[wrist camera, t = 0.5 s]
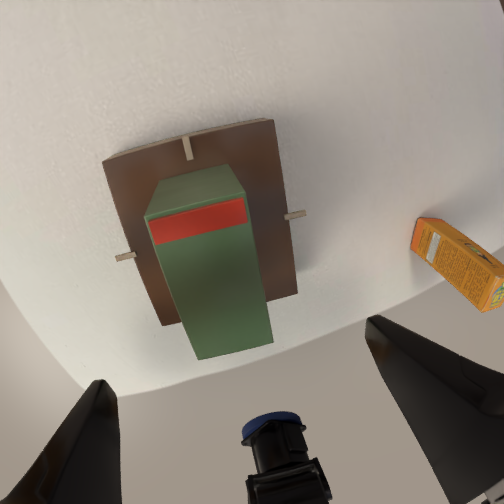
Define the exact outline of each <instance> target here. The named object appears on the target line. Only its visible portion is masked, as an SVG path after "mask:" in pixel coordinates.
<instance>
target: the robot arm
mask: <svg viewBox="0 0 504 504" xmlns="http://www.w3.org/2000/svg"><path fill="white" fill-rule="evenodd" d="M365 339H366V342H367V344H368V347H369V349H370V351H371V353H372V356H373V358H374V360H375V363H376V365H377V367H378V369H379V372H380V374H381V376H382V378H383V379H384V382H385V383H386V385H387V387H388V389H389V390H390V392H391V394H392V396H393V397H394V399H395V401H396V402H397V404H398V406H399V408H400V410H401V411H402V413H403V415H404V416H405V418H406V420H407V422H408V424H409V426H410V428H411V429H412V431H413V433H414V435H415V437H416V439H417V440H418V442H419V444H420V446H421V448H422V450H423V451H424V454H425V455H426V457H427V459H428V461H429V463H430V465H431V467H432V469H433V471H434V473H435V475H436V477H437V479H438V481H439V483H440V485H441V487H442V489H443V491H444V493H445V495H446V497H447V499H448V500H449V503H450V504H467V503H468V502H470V501H471V500H473V499H475V498H476V497H477V496H479V495H481V494H482V493H485V495H486V497H487V499H486V500H484V501H483V502H482V503H481V504H504V374H503V373H500V372H497V371H495V370H492V369H489V368H487V367H485V366H482V365H479V364H477V363H475V362H473V361H471V360H469V359H467V358H465V357H463V356H459V355H458V354H456V353H455V352H453V351H451V350H449V349H447V348H445V347H443V346H441V345H439V344H437V343H435V342H433V341H431V340H429V339H427V338H425V337H423V336H421V335H418V334H417V333H415V332H413V331H411V330H409V329H407V328H405V327H403V326H401V325H399V324H397V323H395V322H393V321H391V320H389V319H387V318H385V317H383V316H381V315H374V316H371V317H368V318H367V320H366V329H365ZM304 430H306V426H305V425H301V424H295V423H289V422H283V421H278V420H272V419H271V420H267V421H266V422H265V423H264V424H262V425H261V426H260V427H259V428H257V429H256V430H255V431H254V432H253V433H251V434H250V435H249V436H248V437H246V438H245V439H244V440H243V441H241V444H242V445H243V446H250V447H252V452H253V456H254V460H255V464H256V469H257V473H258V474H255V475H248V479H247V480H246V481H245V482H246V486H247V491H248V504H329V502H328V501H330V500H332V494H331V490H330V487H329V485H328V482H327V479H326V477H325V475H324V472H323V470H322V468H321V465H320V463H319V461H318V458H317V457H316V458H313V459H312V460H309V458H308V454H307V451H308V448H307V445H306V442H305V439H304V437H303V434H302V432H303V431H304ZM0 504H122V496H121V472H120V429H119V418H118V405H117V397H116V394H115V392H114V391H113V390H112V388H111V387H110V386H109V384H108V383H107V382H106V381H105V380H103V379H101V380H94V381H93V382H92V383H91V384H90V386H89V387H88V388H87V390H86V391H85V393H84V394H83V395H82V396H81V398H80V399H79V401H78V402H77V403H76V405H75V406H74V407H73V409H72V410H71V411H70V413H69V414H68V415H67V417H66V418H65V420H64V421H63V422H62V424H61V425H60V427H59V428H58V429H57V431H56V432H55V434H54V435H53V436H52V438H51V440H50V441H49V442H48V444H47V445H46V446H45V448H44V449H43V451H42V452H41V453H40V455H39V456H38V458H37V459H36V461H35V462H34V463H33V465H32V466H31V467H30V469H29V470H28V471H27V473H26V474H25V475H24V476H23V478H22V479H21V480H20V481H19V482H18V484H17V485H16V486H15V487H14V488H13V490H12V491H11V492H10V493H9V495H8V496H7V497H5V498H4V499H3V500H1V501H0Z"/></svg>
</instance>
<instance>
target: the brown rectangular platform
mask: <svg viewBox="0 0 504 504" xmlns="http://www.w3.org/2000/svg"><path fill="white" fill-rule="evenodd" d="M102 164H103V168H104V171H105V175H106V178H107V181H108V185H109V188H110V191H111V194H112V197H113V201H114V204H115V207H116V210H117V213H118V216H119V219H120V222H121V224H122V227H123V230H124V233H125V236H126V239H127V241H128V244H129V247H130V250H131V252H128V253H125V254H121V255H117V256H115V258H116V261H117V262H118V261H122V260H126V259H130V258H133V257H134V260H135V263H136V265H137V268H138V270H139V273H140V275H141V278H142V280H143V283H144V285H145V288H146V290H147V293H148V295H149V297H150V300H151V302H152V304H153V307H154V309H155V311H156V314H157V316H158V318H159V320H160V322H161V325H162V326H166V325H171V324H175V323H180V322H182V321H181V319H180V316H179V314H178V311H177V309H176V306H175V303H174V301H173V298H172V296H171V293H170V290H169V288H168V285H167V282H166V280H165V277H164V274H163V271H162V269H161V266H160V263H159V260H158V257H157V255H156V252H155V249H154V246H153V243H152V240H151V237H150V234H149V231H148V228H147V225H146V222H145V219H144V215H145V213H146V210H147V208H148V206H149V203H150V201H151V199H152V196H153V194H154V192H155V189H156V187H157V185H158V183H159V181H160V180H163V179H167V178H170V177H174V176H178V175H182V174H186V173H190V172H194V171H198V170H202V169H206V168H211V167H215V166H219V165H224V164H228V165H229V166H230V168H231V169H232V171H233V173H234V174H235V176H236V177H237V179H238V181H239V182H240V184H241V186H242V187H243V189H244V190H245V192H246V198H247V203H248V208H249V213H250V219H251V224H252V229H253V234H254V240H255V245H256V250H257V255H258V261H259V266H260V271H261V277H262V282H263V287H264V293H265V298H266V302H268V301H271V300H275V299H279V298H283V297H287V296H290V295H294V294H297V293H298V290H297V282H296V273H295V265H294V256H293V248H292V240H291V233H290V225H289V219H294V218H298V217H303V216H306V210H301V211H297V212H292V213H288V210H287V203H286V196H285V189H284V182H283V175H282V169H281V162H280V156H279V149H278V143H277V137H276V131H275V125H274V120H272V119H266V118H261V119H255V120H249V121H244V122H238V123H233V124H228V125H223V126H219V127H214V128H210V129H205V130H201V131H196V132H192V133H188V134H184V135H180V136H176V137H172V138H169V139H165V140H161V141H158V142H154V143H150V144H147V145H144V146H140V147H137V148H134V149H130V150H127V151H124V152H121V153H118V154H115V155H112V156H111V157H109V158H107V159H106V160H104V161H103V162H102Z"/></svg>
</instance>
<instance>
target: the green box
mask: <svg viewBox="0 0 504 504" xmlns="http://www.w3.org/2000/svg"><path fill="white" fill-rule="evenodd" d="M144 219H145V222H146V225H147V228H148V231H149V234H150V237H151V240H152V243H153V246H154V249H155V252H156V255H157V257H158V260H159V263H160V266H161V269H162V271H163V274H164V277H165V280H166V282H167V285H168V288H169V290H170V293H171V296H172V298H173V301H174V303H175V306H176V309H177V311H178V314H179V316H180V319H181V321H182V323H183V326H184V328H185V331H186V333H187V336H188V338H189V340H190V343H191V345H192V347H193V350H194V352H195V354H196V357H197V359H198V360H203V359H208V358H212V357H217V356H221V355H226V354H230V353H234V352H238V351H243V350H247V349H251V348H255V347H259V346H262V345H266V344H270V343H273V342H274V341H273V335H272V330H271V325H270V319H269V314H268V309H267V303H266V298H265V293H264V287H263V282H262V277H261V271H260V266H259V261H258V255H257V250H256V245H255V240H254V234H253V229H252V224H251V219H250V213H249V208H248V203H247V198H246V192H245V190H244V189H243V187H242V186H241V184H240V182H239V181H238V179H237V177H236V176H235V174H234V173H233V171H232V169H231V168H230V166H229V165H228V164H224V165H219V166H215V167H211V168H206V169H202V170H198V171H194V172H190V173H186V174H182V175H178V176H174V177H170V178H167V179H163V180H160V181H159V183H158V185H157V187H156V189H155V192H154V194H153V196H152V199H151V201H150V203H149V206H148V208H147V210H146V213H145V215H144Z"/></svg>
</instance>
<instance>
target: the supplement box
mask: <svg viewBox="0 0 504 504" xmlns="http://www.w3.org/2000/svg"><path fill="white" fill-rule="evenodd" d="M410 249H411V250H413V251H414V252H415V253H416V254H418V255H419V256H420V257H421V258H422V259H424V260H425V261H426V262H427V263H428V264H429V265H430V266H432V267H433V268H434V269H435V270H436V271H437V272H438V273H440V274H441V275H442V276H443V277H444V278H445V279H446V280H447V281H448V282H450V283H451V284H452V285H453V286H454V287H455V288H456V289H457V290H459V291H460V292H461V293H462V294H463V295H464V296H465V297H466V298H467V299H468V300H469V301H470V302H471V303H472V304H473V305H474V306H475V307H476V308H477V309H478V310H479V311H480V312H481V313H483V312H486V311H489V310H492V309H495V308H498V307H500V306H501V305H502V303H503V302H504V265H503V264H502V263H501V262H500V261H498V260H497V259H496V258H494V257H493V256H492V255H491V254H489V253H488V252H487V251H486V250H484V249H483V248H482V247H480V246H479V245H478V244H476V243H475V242H473V241H472V240H471V239H469V238H468V237H467V236H465V235H464V234H462V233H461V232H459V231H458V230H457V229H455V228H454V227H452V226H451V225H449V224H448V223H446V222H445V221H443V220H442V219H433V218H418V220H417V224H416V227H415V231H414V235H413V238H412V243H411V246H410Z"/></svg>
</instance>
